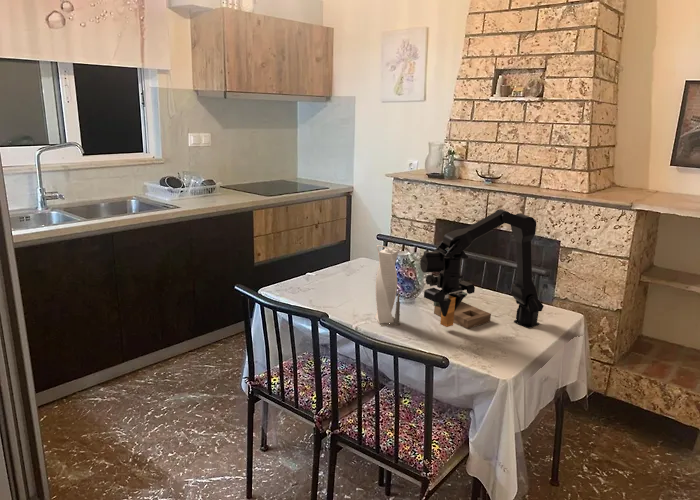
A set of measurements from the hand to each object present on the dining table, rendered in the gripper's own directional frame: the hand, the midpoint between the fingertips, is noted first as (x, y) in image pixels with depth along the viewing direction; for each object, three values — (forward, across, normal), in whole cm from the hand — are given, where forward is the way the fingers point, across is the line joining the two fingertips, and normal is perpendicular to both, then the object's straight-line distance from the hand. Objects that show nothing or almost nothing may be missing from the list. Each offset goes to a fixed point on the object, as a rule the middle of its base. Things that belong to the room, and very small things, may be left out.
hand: (447, 315), depth 176 cm
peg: (+4, 0, 0) cm, 4 cm away
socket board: (+6, -13, -5) cm, 15 cm away
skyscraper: (+6, +13, -17) cm, 22 cm away
